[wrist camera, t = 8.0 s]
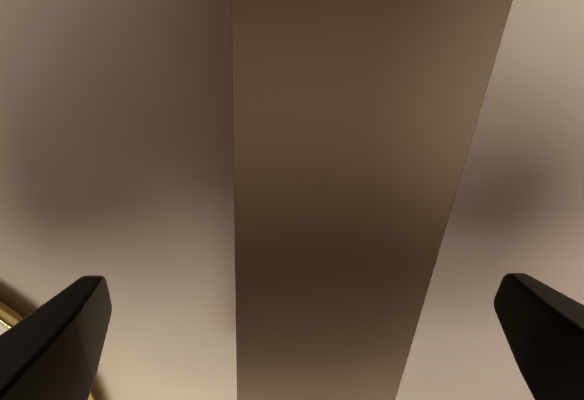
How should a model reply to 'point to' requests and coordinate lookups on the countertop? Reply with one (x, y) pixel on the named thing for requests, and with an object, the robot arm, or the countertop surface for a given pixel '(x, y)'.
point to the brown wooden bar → (346, 181)
